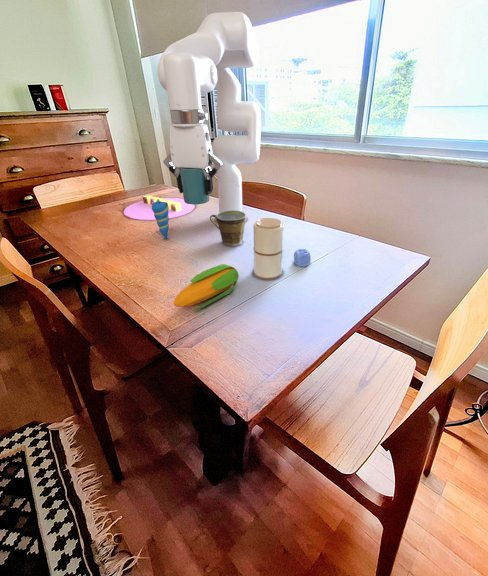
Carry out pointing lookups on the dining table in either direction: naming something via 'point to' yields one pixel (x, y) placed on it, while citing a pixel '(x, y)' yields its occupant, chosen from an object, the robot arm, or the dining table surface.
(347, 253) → the dining table surface
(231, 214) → the ceramic cup
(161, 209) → the ornament
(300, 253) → the decorative dice
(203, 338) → the dining table surface
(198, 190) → the teal cup
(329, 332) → the dining table surface
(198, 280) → the corn
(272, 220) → the cup stack
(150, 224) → the dining table surface
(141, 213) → the platter
